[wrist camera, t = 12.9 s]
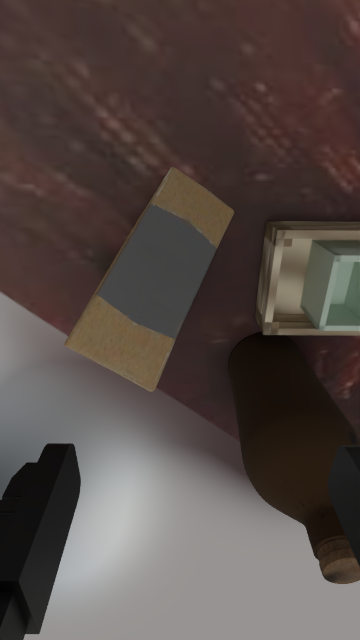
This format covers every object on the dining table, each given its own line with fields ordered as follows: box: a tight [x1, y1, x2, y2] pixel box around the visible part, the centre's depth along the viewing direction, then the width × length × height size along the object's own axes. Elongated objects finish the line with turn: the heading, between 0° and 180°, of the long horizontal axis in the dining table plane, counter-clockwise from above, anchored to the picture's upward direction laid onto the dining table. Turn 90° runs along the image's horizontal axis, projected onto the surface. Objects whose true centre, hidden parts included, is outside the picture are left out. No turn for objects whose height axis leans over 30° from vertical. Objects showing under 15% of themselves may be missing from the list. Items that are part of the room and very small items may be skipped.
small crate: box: [300, 240, 360, 331], centre depth 36 cm, size 8×6×6 cm
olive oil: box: [229, 333, 360, 584], centre depth 34 cm, size 11×11×25 cm
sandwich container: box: [64, 167, 234, 392], centre depth 31 cm, size 9×15×15 cm, turn 146°
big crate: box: [255, 221, 360, 335], centre depth 37 cm, size 12×16×5 cm
